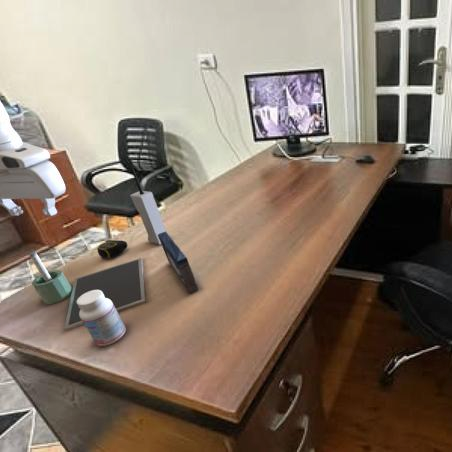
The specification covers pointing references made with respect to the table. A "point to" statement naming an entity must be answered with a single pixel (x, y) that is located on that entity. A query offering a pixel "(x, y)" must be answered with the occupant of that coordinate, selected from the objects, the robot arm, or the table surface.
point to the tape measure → (111, 248)
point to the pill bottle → (100, 318)
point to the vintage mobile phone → (148, 212)
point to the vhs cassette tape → (178, 262)
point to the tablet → (109, 289)
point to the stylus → (40, 266)
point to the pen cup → (52, 287)
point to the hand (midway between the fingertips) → (34, 214)
